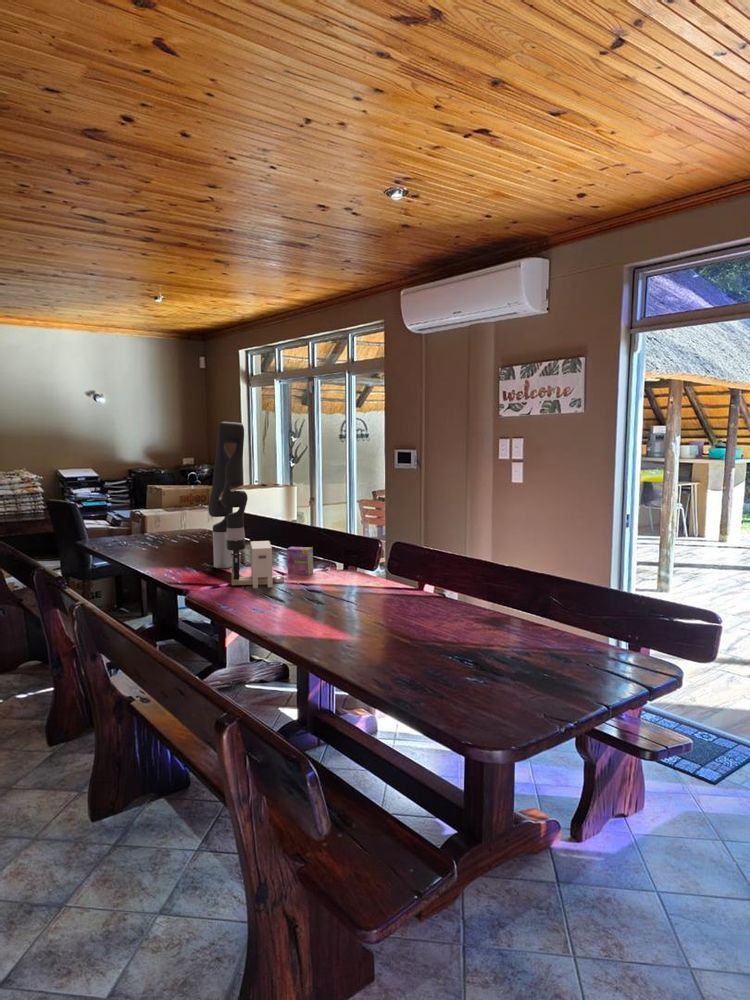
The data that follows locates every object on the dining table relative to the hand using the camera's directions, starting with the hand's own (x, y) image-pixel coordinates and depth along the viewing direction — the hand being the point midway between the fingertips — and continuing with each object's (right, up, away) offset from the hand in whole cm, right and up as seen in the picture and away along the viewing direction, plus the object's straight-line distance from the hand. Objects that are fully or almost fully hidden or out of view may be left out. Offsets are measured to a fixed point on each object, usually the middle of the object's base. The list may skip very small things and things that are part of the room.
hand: (236, 578), depth 270 cm
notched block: (+10, -2, +3) cm, 11 cm away
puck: (+17, -2, +4) cm, 18 cm away
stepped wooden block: (+6, -2, +2) cm, 7 cm away
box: (+25, -1, +20) cm, 32 cm away
